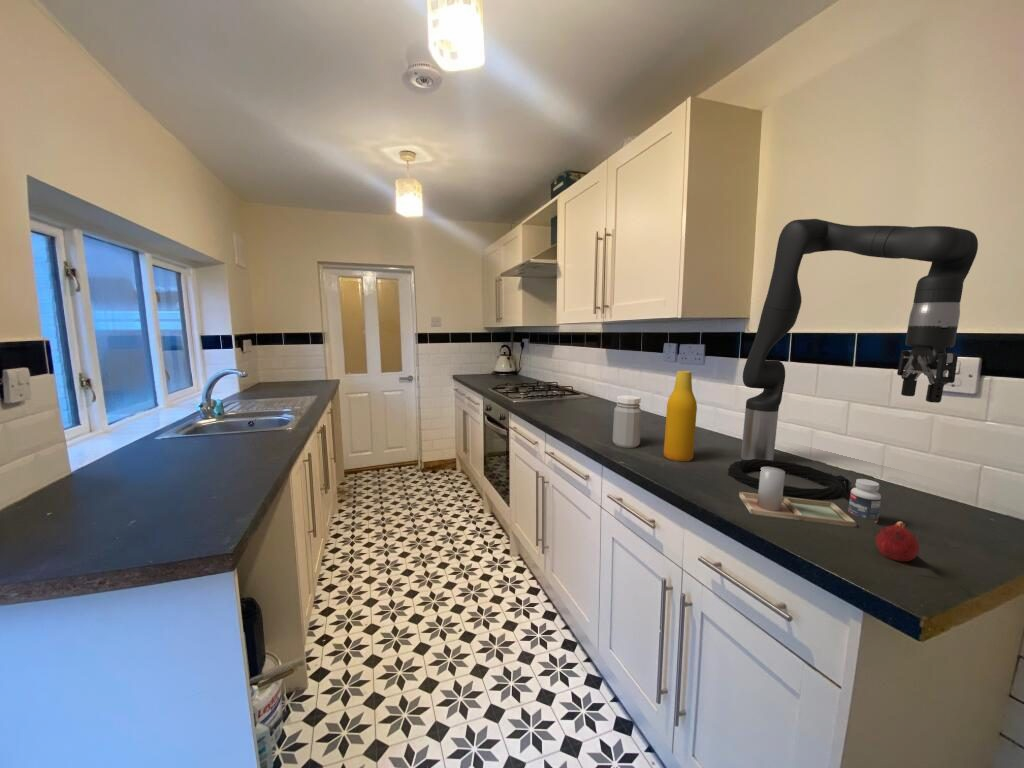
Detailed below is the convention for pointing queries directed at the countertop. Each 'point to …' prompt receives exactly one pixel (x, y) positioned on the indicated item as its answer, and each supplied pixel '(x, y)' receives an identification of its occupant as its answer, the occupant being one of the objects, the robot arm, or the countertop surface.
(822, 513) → the divided tray
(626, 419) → the jar
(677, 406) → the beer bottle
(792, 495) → the cable lock
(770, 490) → the grey tube
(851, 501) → the pill bottle
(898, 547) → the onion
